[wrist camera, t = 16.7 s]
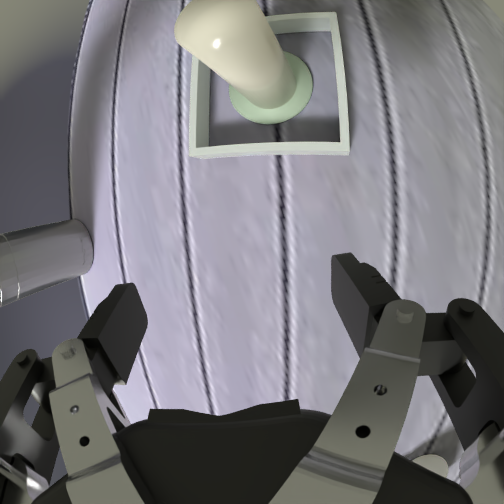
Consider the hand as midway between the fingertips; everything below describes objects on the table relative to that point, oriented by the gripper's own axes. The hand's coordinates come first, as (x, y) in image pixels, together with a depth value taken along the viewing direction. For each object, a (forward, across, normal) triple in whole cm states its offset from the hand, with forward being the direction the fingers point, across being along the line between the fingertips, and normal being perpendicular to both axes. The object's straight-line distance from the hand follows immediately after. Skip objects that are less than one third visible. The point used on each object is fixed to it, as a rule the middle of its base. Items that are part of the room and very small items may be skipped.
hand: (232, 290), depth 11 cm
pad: (+21, -5, -11) cm, 24 cm away
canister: (+21, -5, -11) cm, 24 cm away
